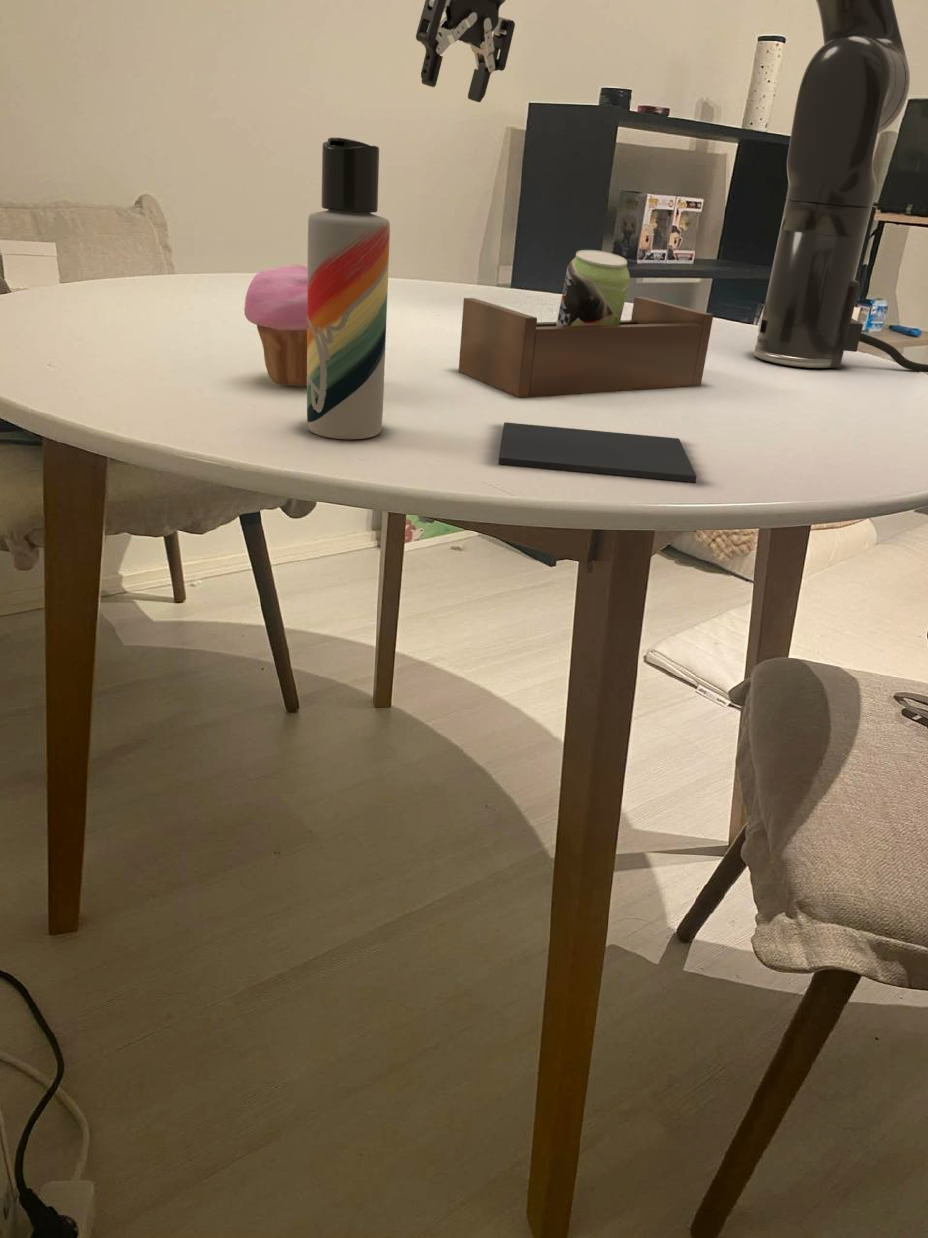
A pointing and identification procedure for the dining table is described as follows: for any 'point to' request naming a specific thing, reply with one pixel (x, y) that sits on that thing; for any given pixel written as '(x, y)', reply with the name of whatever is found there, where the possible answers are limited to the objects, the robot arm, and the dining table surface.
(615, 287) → the beverage can
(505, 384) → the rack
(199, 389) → the dining table surface
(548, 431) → the mat
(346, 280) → the lotion bottle
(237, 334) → the dining table surface
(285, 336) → the cupcake
